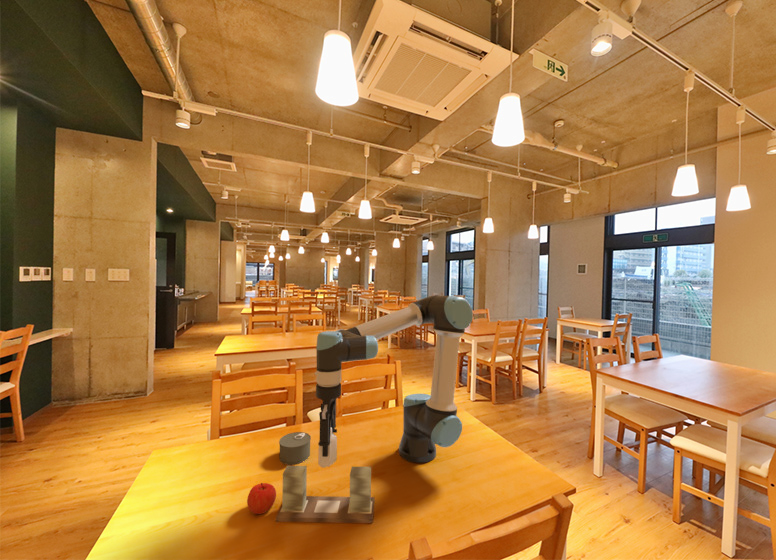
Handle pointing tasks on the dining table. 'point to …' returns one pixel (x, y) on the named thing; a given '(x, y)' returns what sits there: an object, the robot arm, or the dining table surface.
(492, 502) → the dining table surface
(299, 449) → the can
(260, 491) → the apple
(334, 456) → the eye dropper bottle
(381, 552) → the dining table surface
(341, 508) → the wooden base with posts
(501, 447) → the dining table surface
